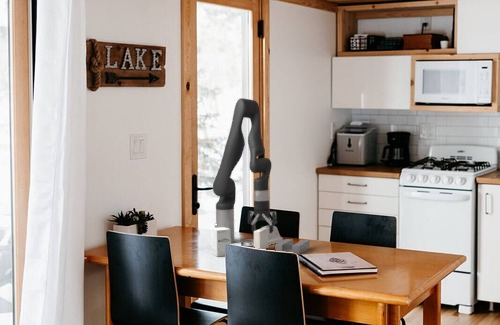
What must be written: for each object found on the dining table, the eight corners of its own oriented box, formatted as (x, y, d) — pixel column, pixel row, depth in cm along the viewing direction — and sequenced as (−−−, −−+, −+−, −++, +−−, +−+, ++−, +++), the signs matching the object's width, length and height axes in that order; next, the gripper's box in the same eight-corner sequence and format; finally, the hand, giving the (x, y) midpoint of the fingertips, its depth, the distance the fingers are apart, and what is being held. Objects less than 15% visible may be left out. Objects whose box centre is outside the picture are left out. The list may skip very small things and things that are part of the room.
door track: (299, 254, 375) (299, 246, 374) (275, 252, 379) (275, 244, 379) (309, 248, 390) (309, 240, 389) (286, 246, 394) (286, 238, 394)
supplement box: (217, 257, 372) (216, 230, 371) (210, 254, 378) (209, 228, 377) (231, 255, 375) (230, 228, 374) (224, 252, 382) (223, 226, 381)
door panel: (259, 252, 381) (259, 231, 380) (253, 252, 382) (252, 231, 382) (268, 248, 392) (268, 227, 391) (262, 247, 393) (261, 227, 393)
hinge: (265, 246, 396) (260, 227, 397) (258, 248, 399) (252, 229, 400) (284, 241, 410) (278, 222, 411) (276, 243, 412) (271, 224, 414)
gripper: (245, 200, 384) (246, 233, 386) (273, 200, 379) (274, 234, 381) (250, 198, 392) (251, 231, 393) (278, 198, 386) (279, 231, 388)
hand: (262, 232), depth 387 cm, fingers open, 8 cm apart
